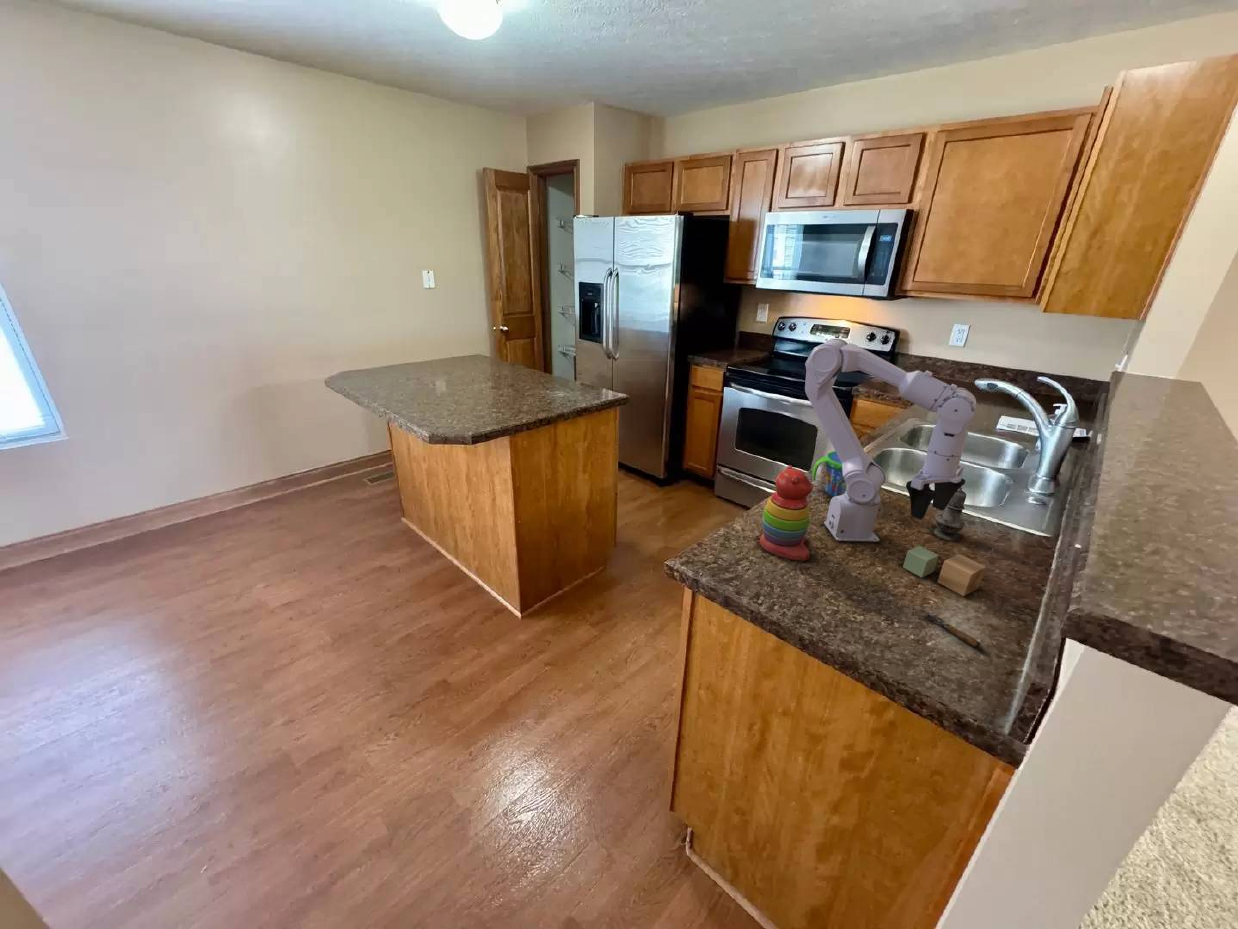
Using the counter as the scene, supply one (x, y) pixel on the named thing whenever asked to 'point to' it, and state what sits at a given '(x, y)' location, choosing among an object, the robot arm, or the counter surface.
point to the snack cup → (832, 474)
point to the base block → (961, 574)
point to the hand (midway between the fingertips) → (927, 512)
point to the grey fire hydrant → (951, 518)
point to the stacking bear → (787, 516)
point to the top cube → (920, 561)
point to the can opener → (955, 631)
